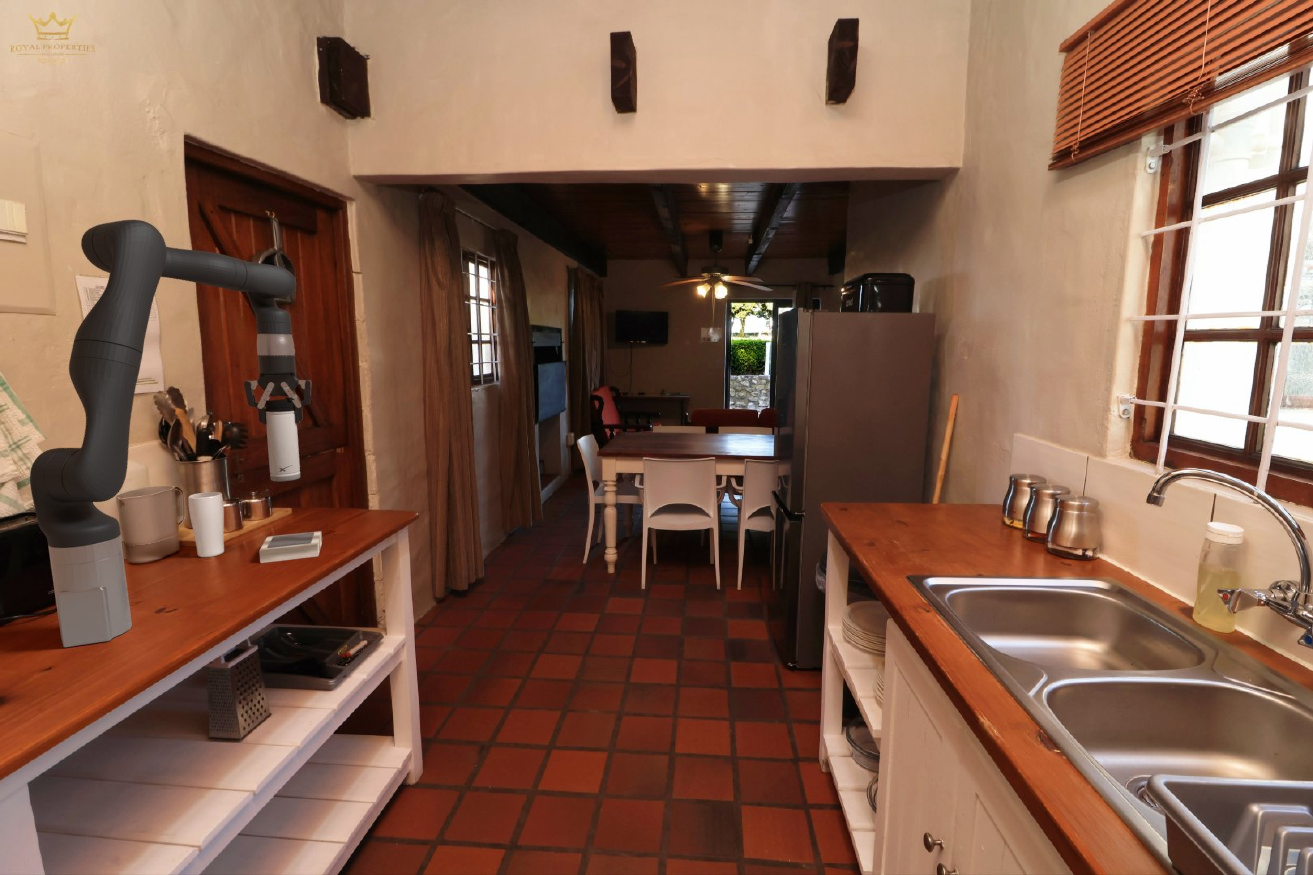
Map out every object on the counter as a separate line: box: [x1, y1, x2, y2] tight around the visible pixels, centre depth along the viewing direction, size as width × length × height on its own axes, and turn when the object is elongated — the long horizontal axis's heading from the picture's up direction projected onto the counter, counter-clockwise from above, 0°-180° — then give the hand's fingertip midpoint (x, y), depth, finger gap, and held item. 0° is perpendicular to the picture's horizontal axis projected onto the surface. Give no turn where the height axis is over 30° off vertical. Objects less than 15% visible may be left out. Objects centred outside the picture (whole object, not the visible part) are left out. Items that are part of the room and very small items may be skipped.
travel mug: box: [265, 396, 301, 482], centre depth 148 cm, size 6×7×20 cm
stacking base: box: [258, 530, 323, 564], centre depth 152 cm, size 12×12×3 cm
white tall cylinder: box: [187, 491, 225, 558], centre depth 149 cm, size 7×7×15 cm
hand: (281, 423), depth 148 cm, fingers closed on travel mug, 6 cm apart
